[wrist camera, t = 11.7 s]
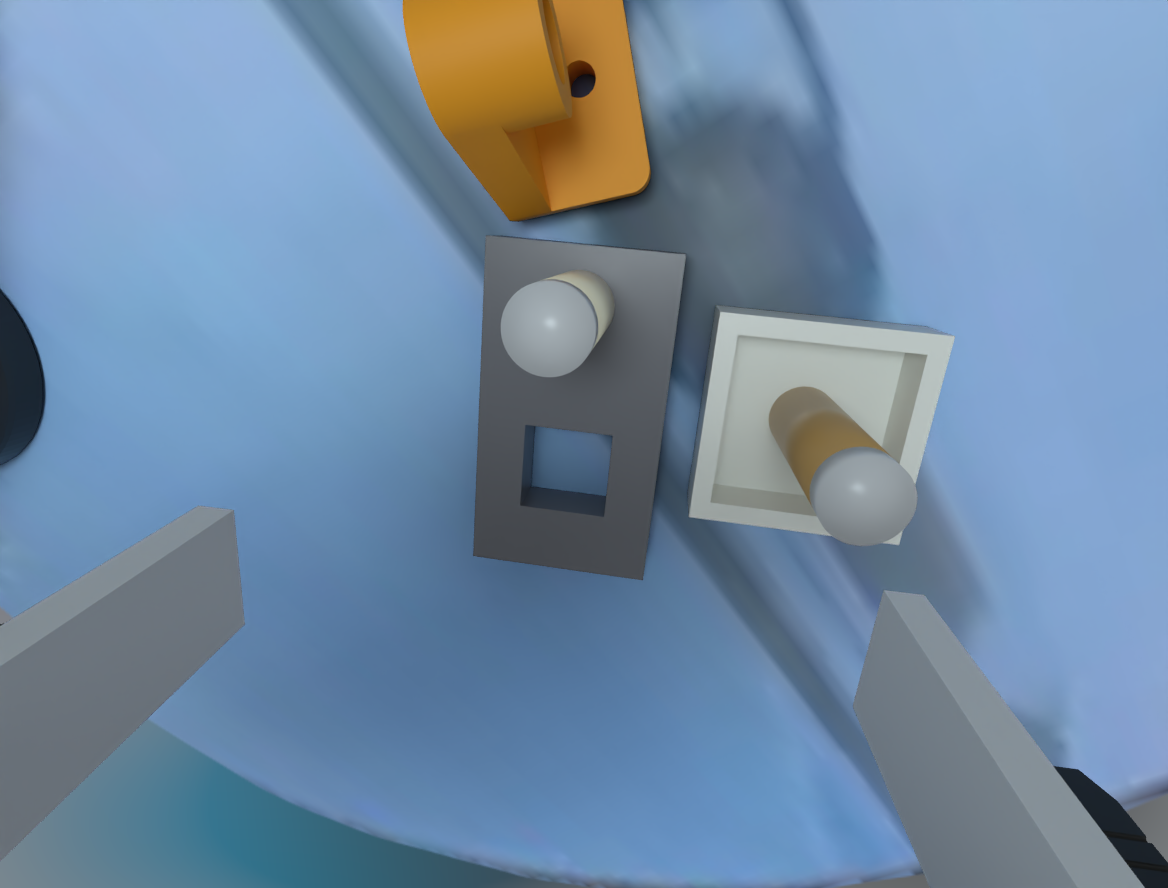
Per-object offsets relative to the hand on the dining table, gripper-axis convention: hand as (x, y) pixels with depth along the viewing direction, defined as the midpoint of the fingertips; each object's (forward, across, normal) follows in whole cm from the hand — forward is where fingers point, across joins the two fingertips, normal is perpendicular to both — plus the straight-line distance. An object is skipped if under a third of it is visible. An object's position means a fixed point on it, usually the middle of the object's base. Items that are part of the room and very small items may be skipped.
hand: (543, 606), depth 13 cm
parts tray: (+24, +11, -2) cm, 27 cm away
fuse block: (+25, -2, -2) cm, 25 cm away
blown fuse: (+24, +11, -2) cm, 26 cm away
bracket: (+25, -4, +14) cm, 29 cm away
